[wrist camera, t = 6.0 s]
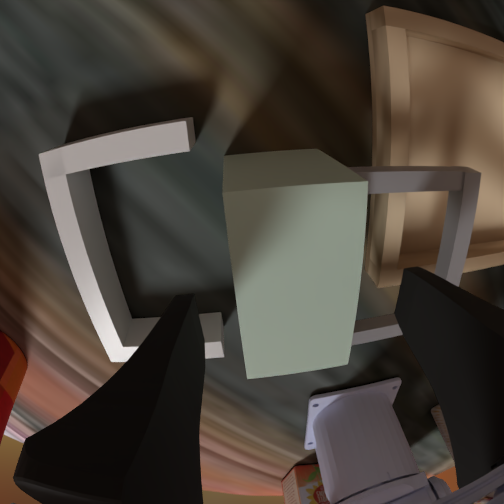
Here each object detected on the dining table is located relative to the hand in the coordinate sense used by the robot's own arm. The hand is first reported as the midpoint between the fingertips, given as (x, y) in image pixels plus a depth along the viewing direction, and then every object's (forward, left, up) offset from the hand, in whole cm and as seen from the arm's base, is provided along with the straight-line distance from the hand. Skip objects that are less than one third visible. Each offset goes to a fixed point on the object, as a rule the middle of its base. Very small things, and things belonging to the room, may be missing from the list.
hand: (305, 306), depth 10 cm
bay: (0, +6, -7) cm, 9 cm away
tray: (+4, -13, -7) cm, 15 cm away
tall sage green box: (0, -3, -7) cm, 7 cm away
